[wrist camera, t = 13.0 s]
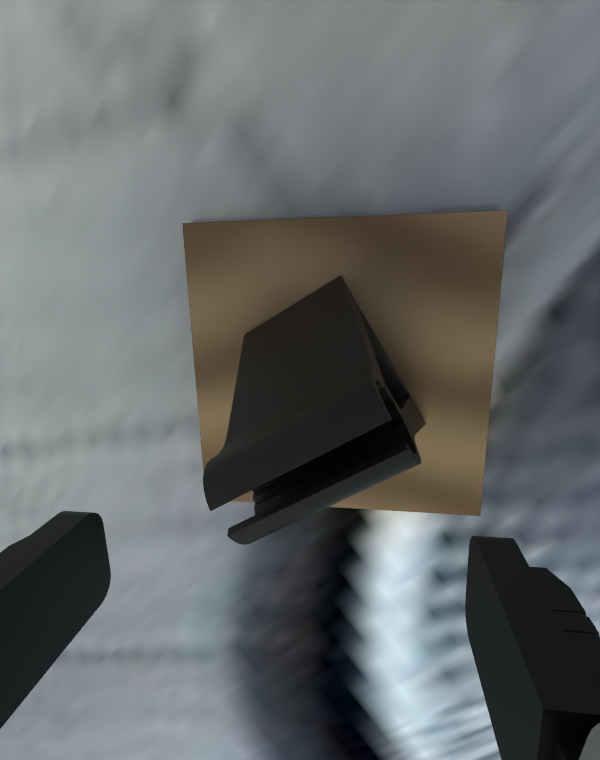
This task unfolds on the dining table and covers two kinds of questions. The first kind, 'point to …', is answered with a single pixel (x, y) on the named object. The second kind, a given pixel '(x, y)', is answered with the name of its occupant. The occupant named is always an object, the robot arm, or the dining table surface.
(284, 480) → the phone stand
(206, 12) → the dining table surface
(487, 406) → the walnut board
